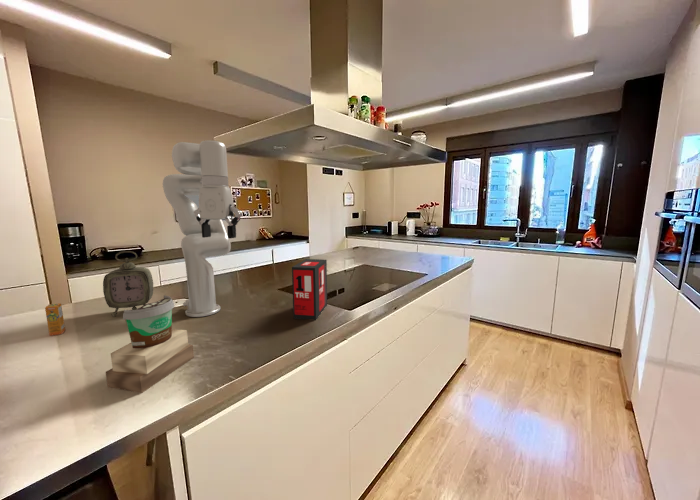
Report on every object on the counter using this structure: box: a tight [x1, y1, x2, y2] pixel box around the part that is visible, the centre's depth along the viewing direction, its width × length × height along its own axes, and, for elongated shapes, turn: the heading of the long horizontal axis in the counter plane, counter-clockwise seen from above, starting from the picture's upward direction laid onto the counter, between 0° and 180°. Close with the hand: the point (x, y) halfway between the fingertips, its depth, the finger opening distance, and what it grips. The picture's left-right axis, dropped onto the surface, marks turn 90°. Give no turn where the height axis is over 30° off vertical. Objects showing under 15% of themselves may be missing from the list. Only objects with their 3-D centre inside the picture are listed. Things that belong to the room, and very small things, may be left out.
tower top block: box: [110, 328, 189, 374], centre depth 74 cm, size 9×14×4 cm, turn 172°
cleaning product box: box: [291, 258, 328, 321], centre depth 116 cm, size 16×9×20 cm, turn 170°
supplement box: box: [44, 302, 66, 337], centre depth 96 cm, size 3×3×10 cm
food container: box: [122, 295, 175, 348], centre depth 73 cm, size 12×6×10 cm, turn 168°
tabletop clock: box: [102, 250, 154, 317], centre depth 115 cm, size 14×9×25 cm, turn 114°
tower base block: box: [105, 343, 195, 394], centre depth 75 cm, size 10×16×4 cm, turn 167°
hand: (219, 237), depth 93 cm, fingers open, 9 cm apart
